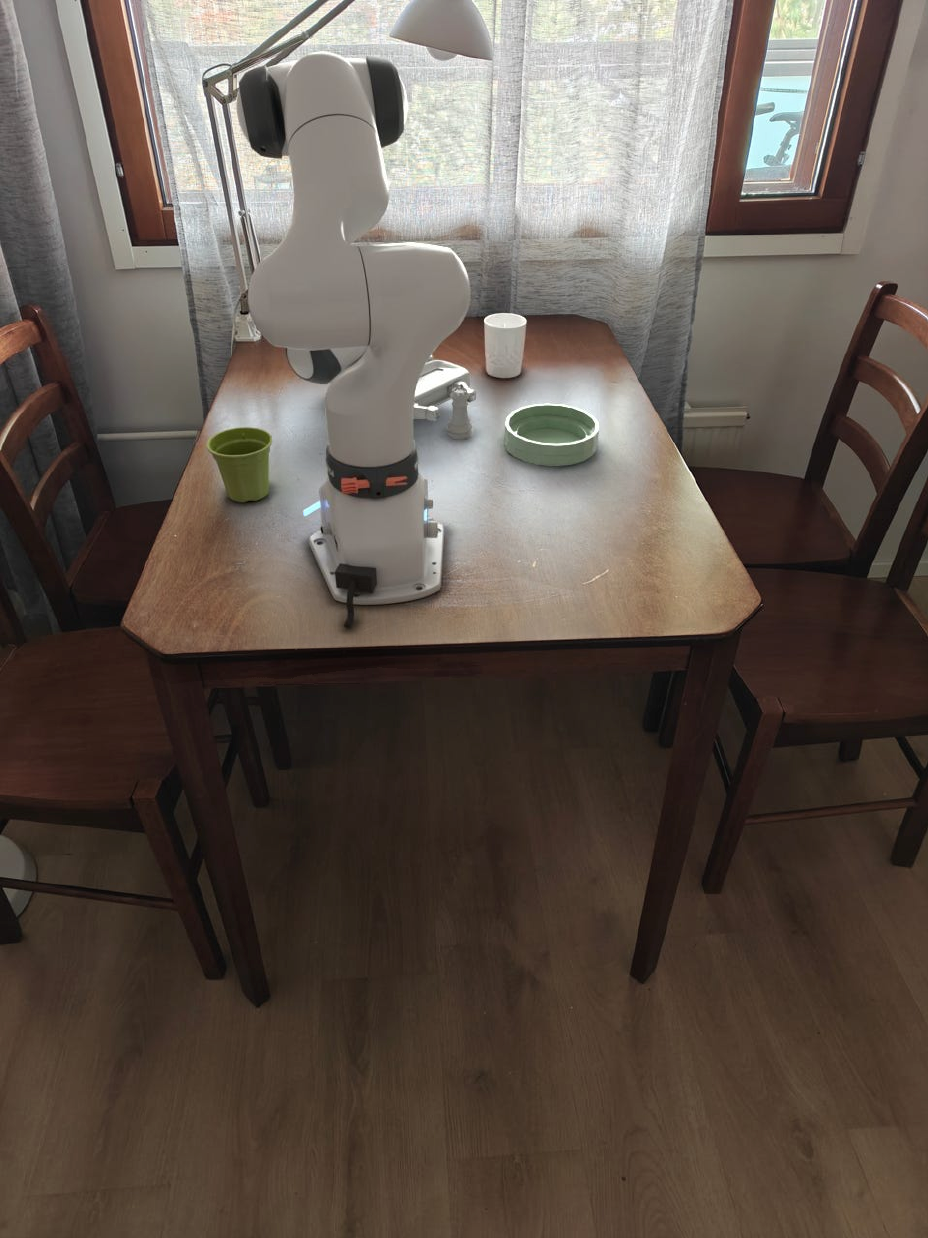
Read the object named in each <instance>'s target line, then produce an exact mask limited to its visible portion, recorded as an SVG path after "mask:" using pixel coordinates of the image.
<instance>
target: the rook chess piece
mask: <svg viewBox="0 0 928 1238" xmlns="http://www.w3.org/2000/svg"><path fill="white" fill-rule="evenodd" d="M469 396H470V394H469V393H468V390H467V389H466V388H465V387H463V390H462V389H461V387H458V389H457V390H456V388H453V389H452V393H451V394H450V397H451V398H452V399H451V400H452V401H451V406H452V412H451V418H450V419H449V422H448V423H447V425H446V428H447V430H446V434H447V436H449V438H451V439H453V440H459V441H460V440H461V441H463V440H467V439H469V438H470V437H471V436H472V435H473V433H474V431H473V428H474V427H473V424H472V422H471V419H470V418H469V414H468V406H469V402H467V399H468V398H469Z"/></svg>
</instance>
